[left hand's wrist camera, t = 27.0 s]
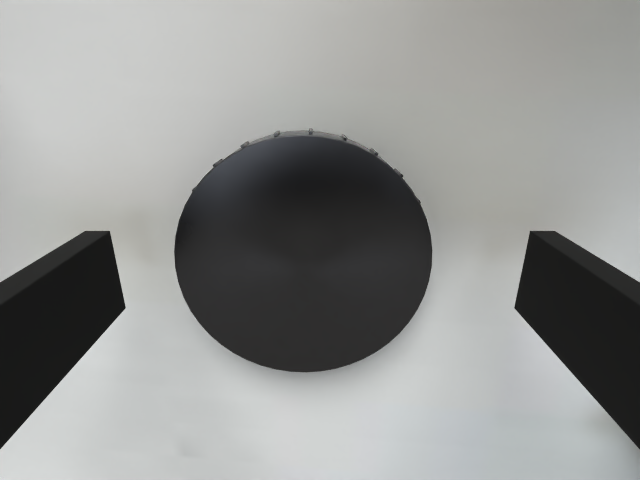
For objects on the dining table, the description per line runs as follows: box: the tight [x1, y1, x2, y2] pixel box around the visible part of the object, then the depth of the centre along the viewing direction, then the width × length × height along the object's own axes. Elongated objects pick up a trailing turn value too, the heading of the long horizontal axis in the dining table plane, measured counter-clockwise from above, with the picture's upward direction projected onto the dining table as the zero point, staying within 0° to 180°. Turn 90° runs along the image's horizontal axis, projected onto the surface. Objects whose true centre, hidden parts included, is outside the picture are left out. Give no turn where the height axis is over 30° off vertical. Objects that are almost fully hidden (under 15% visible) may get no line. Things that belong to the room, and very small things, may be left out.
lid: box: [174, 129, 432, 372], centre depth 15 cm, size 9×9×2 cm
